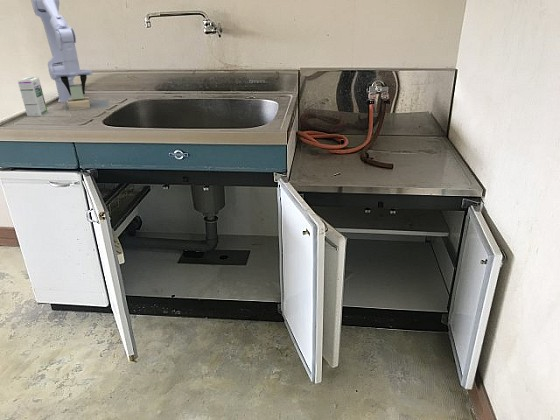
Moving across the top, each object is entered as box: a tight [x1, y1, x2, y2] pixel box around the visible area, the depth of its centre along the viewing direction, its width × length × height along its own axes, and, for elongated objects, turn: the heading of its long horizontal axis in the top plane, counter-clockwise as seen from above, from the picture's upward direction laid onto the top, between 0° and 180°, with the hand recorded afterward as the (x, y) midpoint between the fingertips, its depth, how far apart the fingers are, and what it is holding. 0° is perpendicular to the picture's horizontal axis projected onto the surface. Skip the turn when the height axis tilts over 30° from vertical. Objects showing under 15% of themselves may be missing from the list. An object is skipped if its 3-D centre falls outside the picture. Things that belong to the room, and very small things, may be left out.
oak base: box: [67, 96, 91, 111], centre depth 197 cm, size 8×8×3 cm
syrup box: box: [17, 76, 48, 117], centre depth 186 cm, size 6×6×14 cm
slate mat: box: [65, 99, 110, 112], centre depth 200 cm, size 14×17×1 cm
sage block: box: [70, 83, 85, 99], centre depth 195 cm, size 4×4×5 cm
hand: (77, 94), depth 195 cm, fingers closed on sage block, 4 cm apart
